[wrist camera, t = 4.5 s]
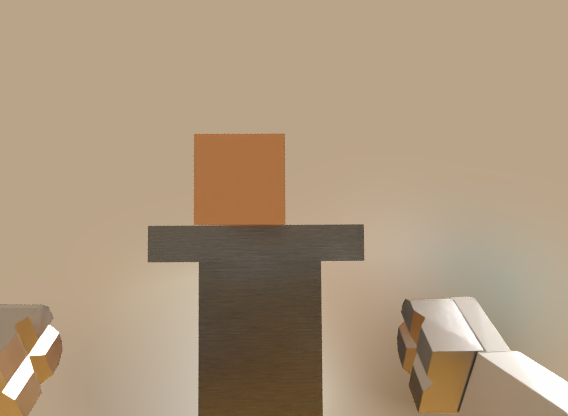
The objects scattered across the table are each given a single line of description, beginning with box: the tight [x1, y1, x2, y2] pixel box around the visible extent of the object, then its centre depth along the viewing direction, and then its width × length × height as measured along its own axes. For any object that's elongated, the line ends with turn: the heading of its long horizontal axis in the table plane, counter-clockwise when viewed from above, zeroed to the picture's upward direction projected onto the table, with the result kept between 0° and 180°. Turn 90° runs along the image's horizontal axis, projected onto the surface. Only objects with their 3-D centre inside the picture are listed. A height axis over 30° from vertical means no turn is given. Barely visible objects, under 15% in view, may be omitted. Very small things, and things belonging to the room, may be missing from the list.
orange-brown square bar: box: [194, 134, 285, 226], centre depth 25 cm, size 24×3×3 cm, turn 1°
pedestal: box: [148, 225, 364, 416], centre depth 29 cm, size 16×12×28 cm
